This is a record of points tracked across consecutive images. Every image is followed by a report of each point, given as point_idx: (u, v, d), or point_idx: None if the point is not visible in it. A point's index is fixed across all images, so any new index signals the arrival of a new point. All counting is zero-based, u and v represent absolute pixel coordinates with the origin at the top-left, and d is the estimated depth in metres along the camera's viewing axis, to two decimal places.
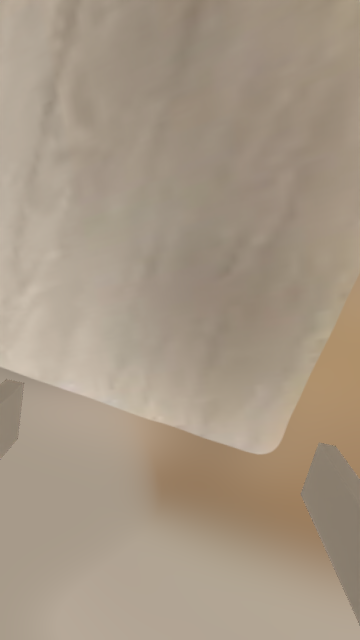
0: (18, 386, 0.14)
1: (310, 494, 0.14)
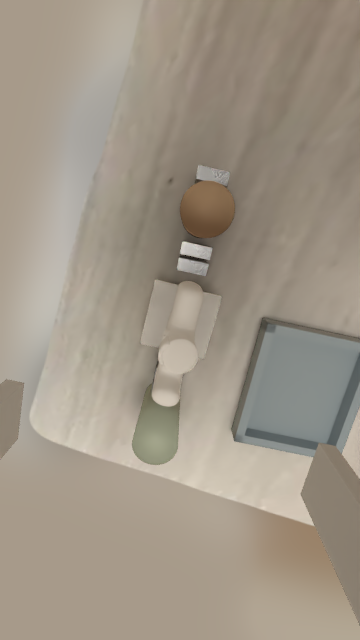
0: (18, 385, 0.14)
1: (310, 495, 0.14)
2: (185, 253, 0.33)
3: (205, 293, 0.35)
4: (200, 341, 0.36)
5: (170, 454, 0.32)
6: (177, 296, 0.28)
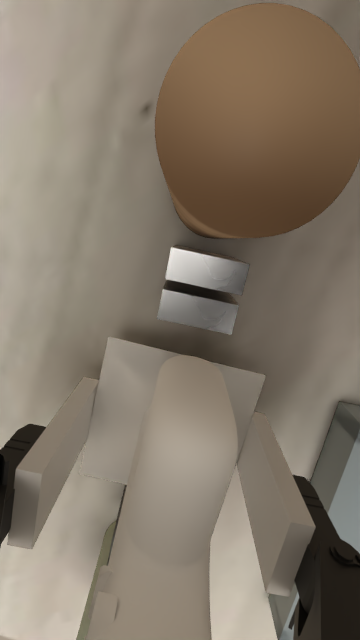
0: (95, 382, 0.15)
1: (241, 457, 0.16)
2: (179, 278, 0.13)
3: (226, 368, 0.15)
4: None
5: None
6: (148, 446, 0.08)
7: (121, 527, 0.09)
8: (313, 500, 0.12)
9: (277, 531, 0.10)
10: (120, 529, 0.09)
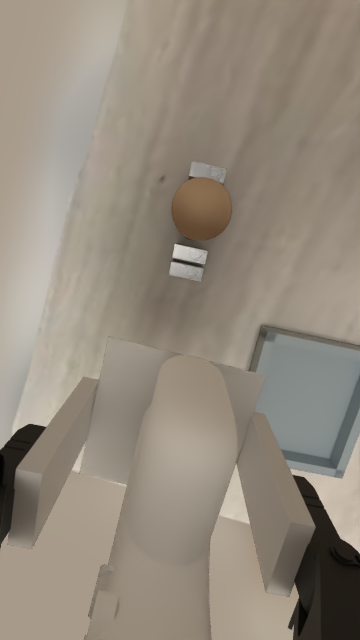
0: (95, 382, 0.15)
1: (241, 457, 0.16)
2: (178, 257, 0.30)
3: (226, 368, 0.15)
4: None
5: None
6: (148, 446, 0.08)
7: (121, 526, 0.09)
8: (313, 501, 0.12)
9: (277, 531, 0.10)
10: (120, 528, 0.09)
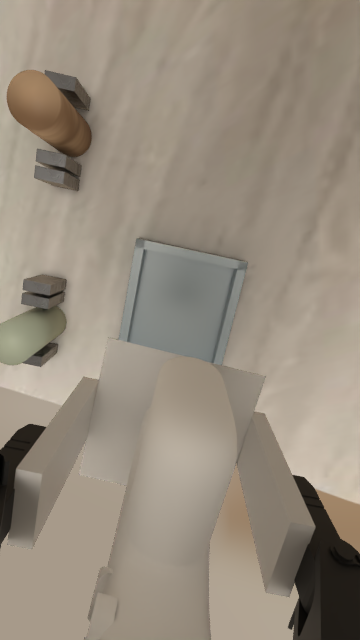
0: (95, 382, 0.15)
1: (241, 457, 0.16)
2: (41, 161, 0.34)
3: (226, 369, 0.15)
4: None
5: (25, 354, 0.34)
6: (148, 448, 0.08)
7: (121, 528, 0.09)
8: (313, 500, 0.12)
9: (277, 531, 0.10)
10: (120, 530, 0.09)
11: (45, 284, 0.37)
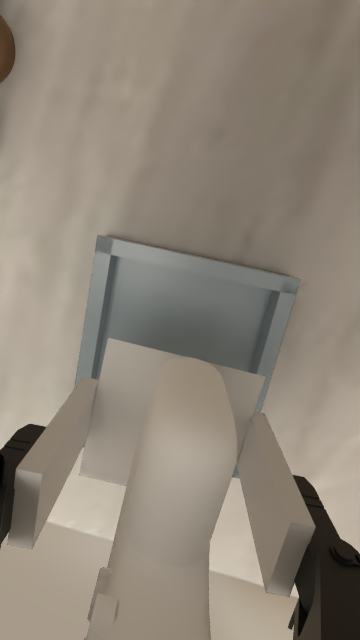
0: (95, 382, 0.15)
1: (241, 457, 0.16)
2: None
3: (226, 369, 0.15)
4: None
5: None
6: (148, 448, 0.08)
7: (121, 529, 0.09)
8: (313, 500, 0.12)
9: (277, 531, 0.10)
10: (120, 531, 0.09)
11: None
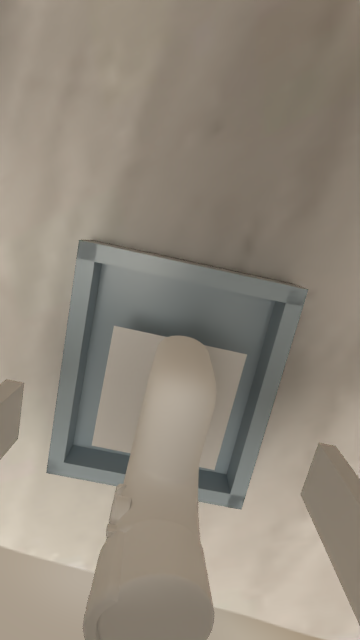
0: (18, 385, 0.14)
1: (310, 495, 0.14)
2: None
3: (213, 349, 0.18)
4: (206, 438, 0.19)
5: None
6: (149, 394, 0.11)
7: (131, 459, 0.11)
8: None
9: None
10: (130, 461, 0.11)
11: None
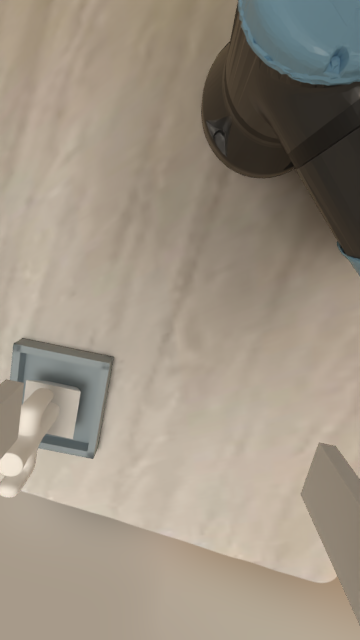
0: (18, 385, 0.14)
1: (310, 495, 0.14)
2: None
3: (67, 389, 0.44)
4: (68, 425, 0.45)
5: None
6: None
7: None
8: None
9: None
10: None
11: None
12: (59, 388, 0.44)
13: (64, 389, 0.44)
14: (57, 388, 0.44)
